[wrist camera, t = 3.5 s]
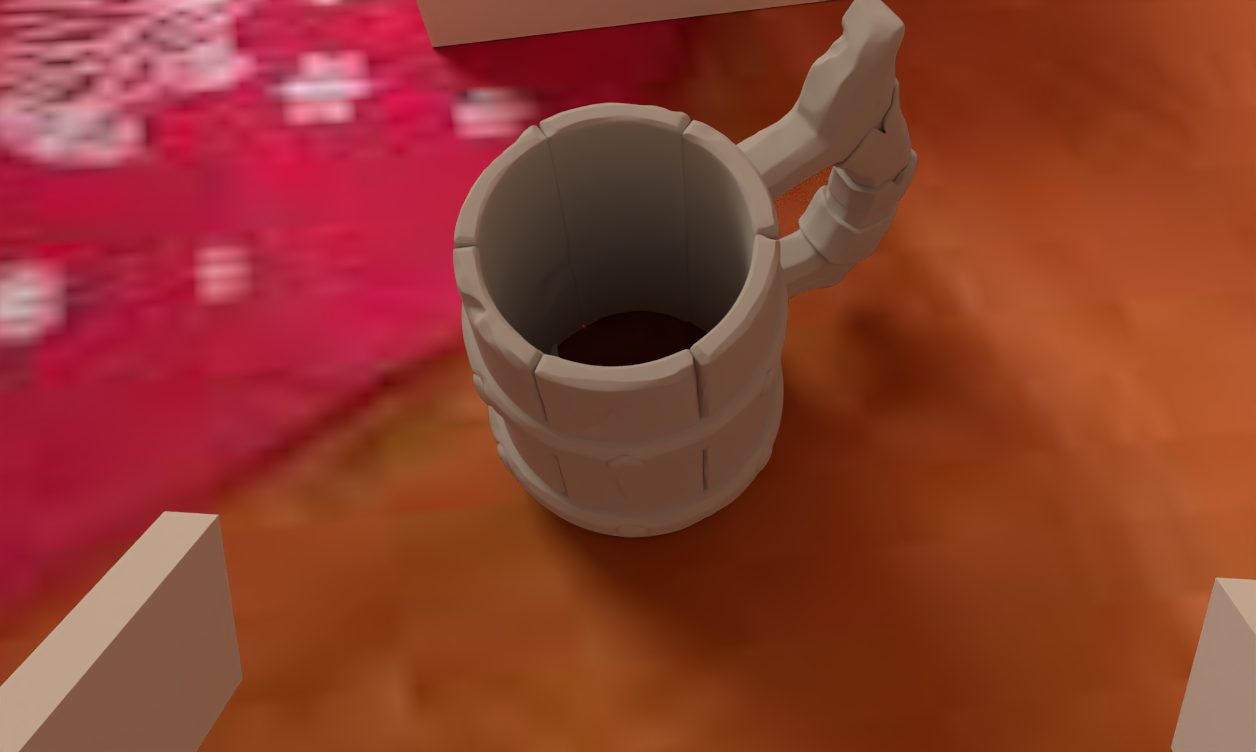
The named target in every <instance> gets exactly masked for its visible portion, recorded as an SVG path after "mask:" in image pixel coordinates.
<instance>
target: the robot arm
mask: <svg viewBox="0 0 1256 752" xmlns="http://www.w3.org/2000/svg"><path fill="white" fill-rule="evenodd" d="M242 679H243V676H242V669H241V662H240V656H239V649H238V642H237V635H236V629H235V622H234V615H233V608H232V602H231V595H230V588H229V581H228V575H227V568H226V561H225V554H224V548H223V541H222V534H221V527H220V521H219V515H214V514H199V513H183V512H167V511H164V513H163V514H162V515H161V516H160V517H159V518H158V519H157V520H156V521H155V522H154V523H153V524H152V525H151V526H150V528H149V529H148V530H147V531H146V532H145V533H144V534H143V535H142V536H141V537H140V538H139V539H138V540H137V541H136V542H135V544H134V545H133V546H132V547H131V548H130V549H129V550H128V551H127V552H126V553H125V554H124V555H123V556H122V557H121V558H120V560H119V561H118V562H117V563H116V564H115V565H114V566H113V567H112V568H111V569H110V570H109V571H108V572H107V573H106V575H105V576H104V577H103V578H102V579H101V580H100V581H99V582H98V583H97V584H96V585H95V586H94V587H93V588H92V589H91V591H90V592H89V593H88V594H87V595H86V596H85V597H84V598H83V599H82V600H81V601H80V602H79V603H78V604H77V606H76V607H75V608H74V609H73V610H72V611H71V612H70V613H69V614H68V615H67V616H66V617H65V618H64V619H63V620H62V622H61V623H60V624H59V625H58V626H57V627H56V628H55V629H54V630H53V631H52V632H51V633H50V634H49V635H48V637H47V638H46V639H45V640H44V641H43V642H42V643H41V644H40V645H39V646H38V647H37V648H36V649H35V650H34V651H33V653H32V654H31V655H30V656H29V657H28V658H27V659H26V660H25V661H24V662H23V663H22V664H21V665H20V666H19V667H18V669H17V670H16V671H15V672H14V673H13V674H12V675H11V676H10V677H9V678H8V679H7V680H6V681H5V682H4V684H3V685H2V686H1V687H0V752H197V750H198V748H199V747H200V745H201V744H202V742H203V741H204V739H205V737H206V736H207V734H208V733H209V731H210V730H211V728H212V726H213V725H214V723H215V722H216V720H217V719H218V717H219V715H220V714H221V712H222V711H223V709H224V708H225V706H226V704H227V703H228V701H229V700H230V698H231V697H232V695H233V693H234V692H235V690H236V689H237V687H238V686H239V684H240V682H241V681H242ZM1171 749H1172V751H1173V752H1256V580H1247V579H1231V578H1215V582H1214V586H1213V590H1212V594H1211V597H1210V601H1209V605H1208V609H1207V613H1206V616H1205V620H1204V624H1203V628H1202V632H1201V635H1200V639H1199V643H1198V647H1197V651H1196V654H1195V658H1194V662H1193V666H1192V670H1191V673H1190V677H1189V681H1188V685H1187V688H1186V692H1185V696H1184V700H1183V704H1182V707H1181V711H1180V715H1179V719H1178V723H1177V726H1176V730H1175V734H1174V738H1173V742H1172V745H1171Z"/></svg>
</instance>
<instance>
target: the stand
mask: <svg viewBox="0 0 1256 752" xmlns="http://www.w3.org/2000/svg"><path fill="white" fill-rule="evenodd" d="M821 1H829V0H417V3H418V6H419V9H420V12H421V15H422V18H423V21H424V24H425V27H426V30H427V33H428V36H429V39H430V42H431V45H432V47H439V46H448V45H456V44H465V43H473V42H482V41H490V40H499V39H507V38H515V37H524V36H532V35H541V34H549V33H558V32H566V31H575V30H583V29H592V28H600V27H609V26H617V25H626V24H634V23H643V22H651V21H660V20H668V19H677V18H685V17H694V16H702V15H711V14H719V13H728V12H736V11H745V10H753V9H762V8H770V7H779V6H787V5H795V4H804V3H812V2H821Z"/></svg>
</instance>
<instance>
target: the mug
mask: <svg viewBox="0 0 1256 752" xmlns="http://www.w3.org/2000/svg"><path fill="white" fill-rule="evenodd" d="M842 26H843V29H844V31H843V34H842V36H841V37H840V38H839V39H838V40H836V41H835V42H834V43H833V44H832V45H831V47H830V48H829V50H828V51H827V52H826V53H825V54H824V55H823V56H821V57H819V58H818V59H817V60H816V61H815V62H814V63H813V65H812V67H811V69H810V71H809V73H808V75H807V77H806V79H805V82H804V85H803V87H802V91H801V94H800V97H799V99H798V100H797V102H796V103H795V105H794V107H793V108H792V110H791V111H790V112H789V113H787V114H786V115H785V116H784V117H783V118H782V119H781V120H779V121H778V122H776V123H774V124H772V125H771V126H769V127H767V128H765V129H763V130H760V131H759V132H757V133H756V134H755V135H753V136H751V137H749V138H747V139H745V140H743V141H742V142H740V143H739V144H737V145H735V144H734V143H733V142H732V141H731V140H729V139H728V138H727V137H726V136H725V135H723V134H722V133H720V132H718V131H717V130H715V129H714V128H712V127H711V126H709V125H707V124H705V123H702V122H699V121H696V120H693V121H692V122H691V123H690V117H689V116H688V115H687V114H685V113H683V112H674V111H669V110H667V109H665V108H662V107H658V106H653V105H635V104H624V103H601V104H593V105H588V106H583V107H579V108H575V109H571V110H567V111H564V112H561V113H558V114H556V115H554V116H552V117H549V118H547V119H545V120H542V121H541V122H540V129H539V128H538V127H537V126H535V125H532V126H530V127H529V128H527V129H526V130H525V131H524V132H523V133H522V134H521V136H520V137H519V138H518V139H517V141H516V142H515V143H514V144H513V145H511V146H510V147H509V148H507V149H506V150H505V151H504V152H503V153H502V154H501V155H500V156H499V157H497V158H496V159H495V160H494V161H493V162H492V163H491V164H490V165H489V166H488V167H487V168H486V169H485V170H484V171H483V172H482V174H481V175H480V176H479V178H478V179H477V181H476V182H475V184H474V185H473V187H472V188H471V190H470V192H469V194H468V196H467V198H466V200H465V202H464V204H463V206H462V208H461V211H460V214H459V217H458V220H457V223H456V228H455V234H454V244H455V247H456V249H454V250H453V261H454V271H455V277H456V282H457V286H458V290H459V293H460V296H461V299H462V328H463V336H464V342H465V346H466V350H467V354H468V358H469V362H470V365H471V368H472V371H473V372H474V375H473V381H474V385H475V387H476V390H477V392H478V394H479V395H480V397H481V398H482V400H483V401H484V402H485V403H486V404H487V405H488V410H489V419H490V426H491V430H492V433H493V435H494V437H495V439H496V441H497V443H498V447H497V449H498V453H499V457H500V459H501V460H502V462H503V463H504V465H505V466H506V468H507V469H508V470H509V471H511V472H512V473H513V475H514V476H515V478H516V479H517V481H518V482H519V483H520V484H521V486H522V487H523V488H524V489H525V490H526V491H527V492H528V493H529V494H530V495H531V496H532V497H533V498H534V499H535V500H536V501H538V502H539V503H540V504H541V505H543V506H544V507H545V508H547V509H548V510H550V511H551V512H553V513H554V514H556V515H557V516H559V517H561V518H562V519H564V520H566V521H568V522H570V523H572V524H574V525H577V526H579V527H581V528H584V529H587V530H590V531H594V532H597V533H602V534H607V535H613V536H621V537H647V536H656V535H662V534H667V533H671V532H675V531H678V530H681V529H684V528H687V527H689V526H691V525H693V524H695V523H697V522H699V521H701V520H703V519H704V518H706V517H709V516H711V515H713V514H714V513H715V512H716V511H718V510H720V509H722V508H724V507H725V506H727V505H728V504H730V503H731V502H733V501H734V500H735V499H736V498H738V497H739V496H740V494H741V493H742V492H743V491H744V490H745V489H746V488H747V487H748V486H749V485H750V484H751V482H752V481H753V480H754V479H755V477H756V476H757V474H758V473H759V471H761V470H762V469H763V468H764V467H765V466H766V464H767V463H768V461H769V459H770V457H771V454H772V450H773V448H772V447H773V445H774V442H775V439H776V436H777V433H778V430H779V426H780V421H781V416H782V410H783V398H784V384H783V372H782V366H781V356H782V350H783V346H784V341H785V336H786V330H787V322H788V299H789V298H791V297H794V296H796V295H798V294H801V293H803V292H806V291H809V290H812V289H815V288H826V287H831V286H833V285H836V284H837V283H839V282H840V281H842V280H843V278H844V277H845V276H846V275H847V273H848V272H849V271H850V270H851V269H852V268H853V267H854V266H855V265H856V264H857V262H858V261H861V260H862V259H865V258H867V257H868V256H870V255H871V254H872V253H874V251H875V250H876V248H877V247H878V245H879V243H880V241H881V239H882V237H883V236H884V235H885V234H886V233H887V231H888V229H889V227H890V225H891V222H892V220H893V217H894V215H895V212H896V209H897V206H898V201H899V200H900V199H901V198H902V197H903V195H904V193H905V192H906V190H907V189H908V187H909V185H910V183H911V181H912V179H913V176H914V173H915V170H916V167H917V163H918V157H917V154H916V152H915V151H914V150H913V149H911V140H910V136H909V131H908V126H907V122H906V120H905V119H904V117H903V114H902V111H901V108H900V97H899V88H900V86H899V82H898V80H897V78H896V77H895V57H896V55H897V52H898V50H899V48H900V45H901V43H902V40H903V37H904V33H905V25H904V23H903V22H902V20H901V19H900V18H899V17H898V16H897V15H896V14H895V13H894V12H893V11H892V10H891V9H890V8H889V7H888V6H887V5H885V4H884V3H883V2H882V1H881V0H854V1H853V3H852V4H851V6H850V7H849V9H848V10H847V12H846V13H845V14H844V16H843V18H842ZM831 165H833V168H832V171H831V173H830V176H829V180H828V185H825V186H822V187H820V189H819V190H818V191H817V192H816V193H815V195H814V197H813V199H812V200H811V202H810V204H809V206H808V207H807V209H806V211H805V212H804V214H803V215H802V216H801V217H800V219H799V226H800V229H799V230H798V231H796V232H794V233H792V234H790V235H788V236H786V237H784V238H782V239H779V234H780V229H779V221H778V217H777V212H776V209H775V205H774V202H773V201H775V200H776V199H777V198H779V197H781V196H782V195H784V194H785V193H787V192H788V191H789V190H791V189H792V188H794V187H795V186H796V185H798V184H800V183H802V182H803V181H805V180H807V179H808V178H810V177H812V176H813V175H815V174H817V173H818V172H820V171H822V170H824V169H825V168H827V167H829V166H831ZM635 311H648V312H656V313H662V314H667V315H670V316H673V317H675V318H677V319H679V320H681V321H683V322H691V323H692V324H693V325H695V326H696V327H698V328H699V329H701V330H703V331H705V332H706V333H708V334H707V335H705V336H704V337H703V338H702V339H700V340H699V341H698V342H696V343H695V344H694V345H693V346H692V347H691V348H690V350H689V349H685V350H682V351H680V352H677V353H675V354H673V355H670V356H667V357H665V358H662V359H659V360H655V361H651V362H647V363H643V364H637V365H630V366H616V367H607V366H593V365H586V364H581V363H576V362H572V361H569V360H565V359H562V358H559V353H558V348H557V347H558V346H559V345H560V344H561V343H562V342H563V341H564V340H566V339H567V338H568V337H570V336H571V335H573V334H574V333H576V332H578V331H579V330H581V329H582V327H583V325H585V326H586V325H590V324H592V323H594V322H595V321H597V320H599V319H601V318H603V317H606V316H609V315H613V314H618V313H625V312H635Z"/></svg>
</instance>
